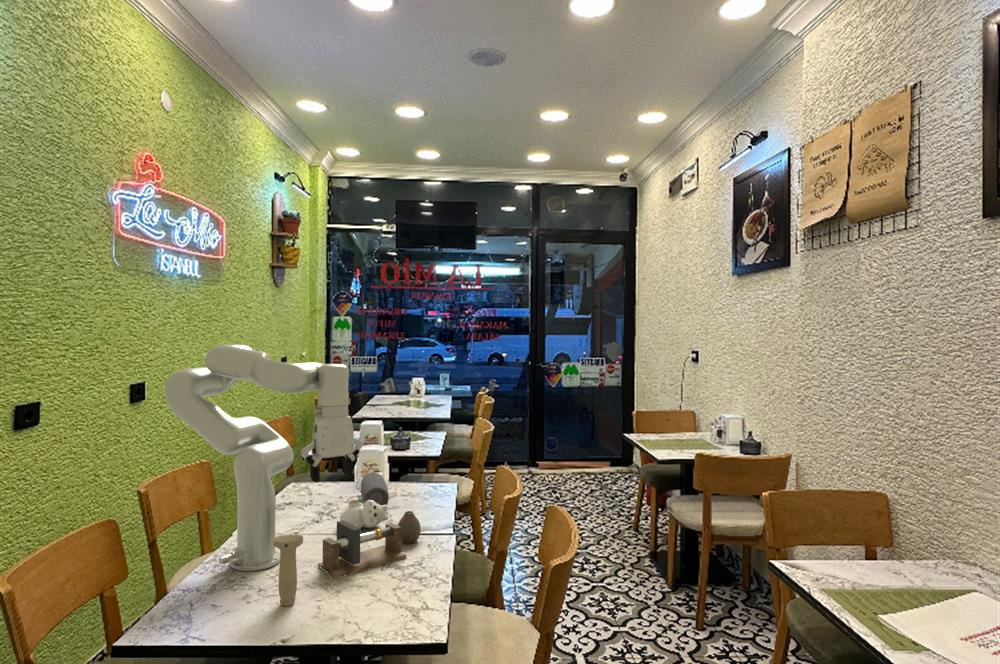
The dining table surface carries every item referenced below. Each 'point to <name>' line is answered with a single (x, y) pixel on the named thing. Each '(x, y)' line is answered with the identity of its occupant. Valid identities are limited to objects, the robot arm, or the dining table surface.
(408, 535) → the vase
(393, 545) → the stand
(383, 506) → the cat figurine
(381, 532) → the pipe
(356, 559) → the collar
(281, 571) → the handle
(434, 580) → the dining table surface
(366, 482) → the bluetooth speaker
